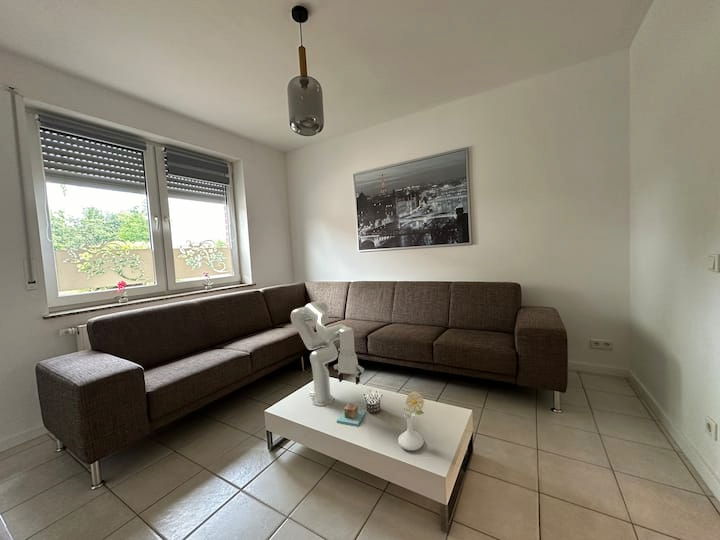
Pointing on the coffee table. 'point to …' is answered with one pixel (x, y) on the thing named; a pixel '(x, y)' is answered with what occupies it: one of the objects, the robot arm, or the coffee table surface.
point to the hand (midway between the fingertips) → (349, 382)
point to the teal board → (351, 421)
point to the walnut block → (351, 411)
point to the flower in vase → (410, 437)
